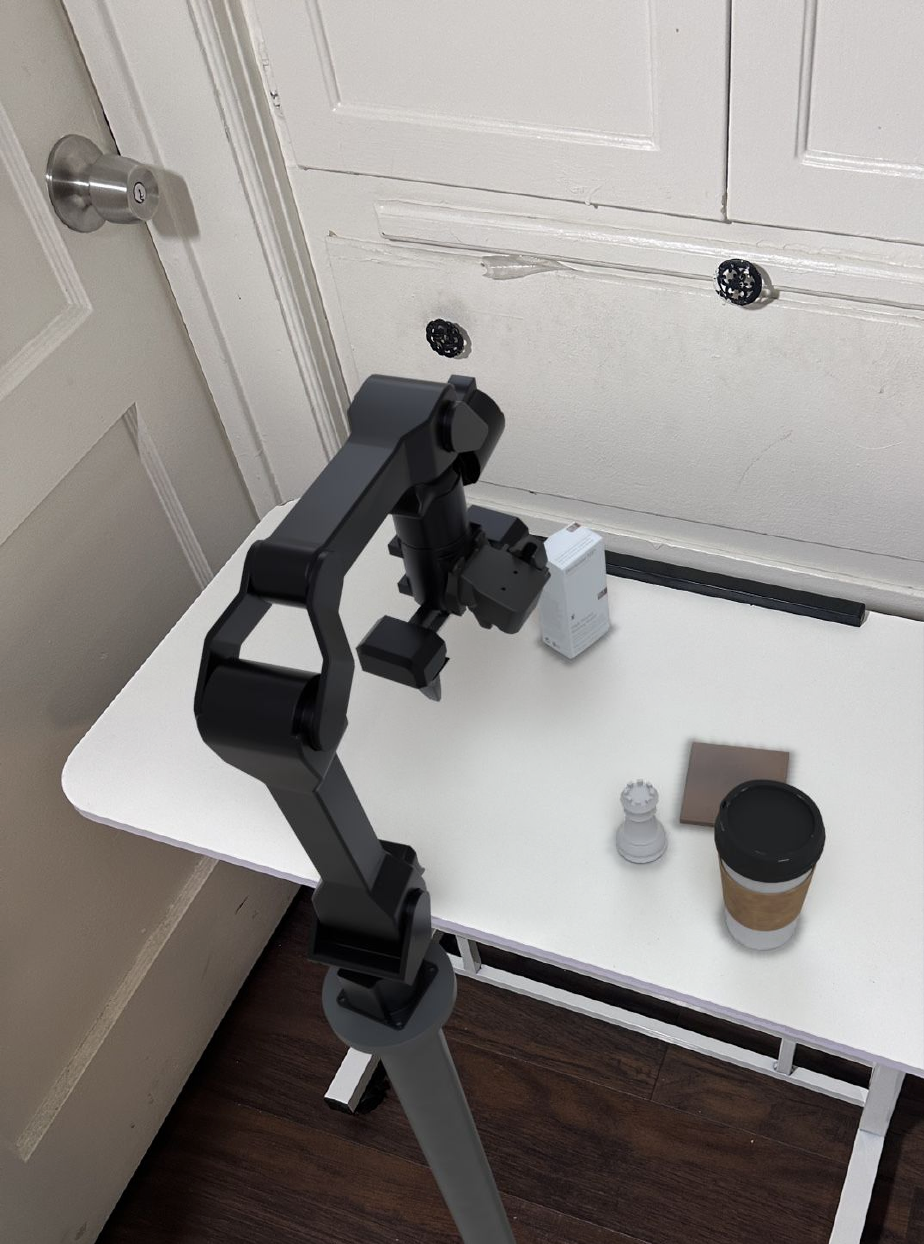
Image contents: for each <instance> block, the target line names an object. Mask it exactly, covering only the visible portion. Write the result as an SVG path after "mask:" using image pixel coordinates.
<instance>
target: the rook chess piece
mask: <svg viewBox="0 0 924 1244" xmlns="http://www.w3.org/2000/svg"><path fill="white" fill-rule="evenodd" d="M659 798H660V796H659V793H658V790H657V789H656V788H655V787H654V786H653V784H652V783H651V782H650V781H647V782H644V779H643V778H637V779H636V782H633V781H632V780H630V781H629V782H627V784H626V786H625V787H624V788H623V789H622V791H621V793H620V797H619V801H620V804H621V806H622V807H623V813H624V815H625V819H624V820H623V821H622V822H621V824H620V826H619V827H618V828H617V834H616V848H617V850H618V852H619V854H620V855H621V856H622V857H623V858H624V859H625V860H628V861H630V862H633V863H638V864H639V863H642V864H646V863H649V862H652V861H655V860H657V859H658V858H659V857H661V856H662V855H663V853H664V852H665V850H666V849H667V841H668V839H667V836H666V834H667V833H666V830H665V828H664V826H663V824H662V823H661V822H660V821H659V820H658V819H657V818H656V815H655V814H656V812H657V805H658V803H659Z"/></svg>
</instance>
